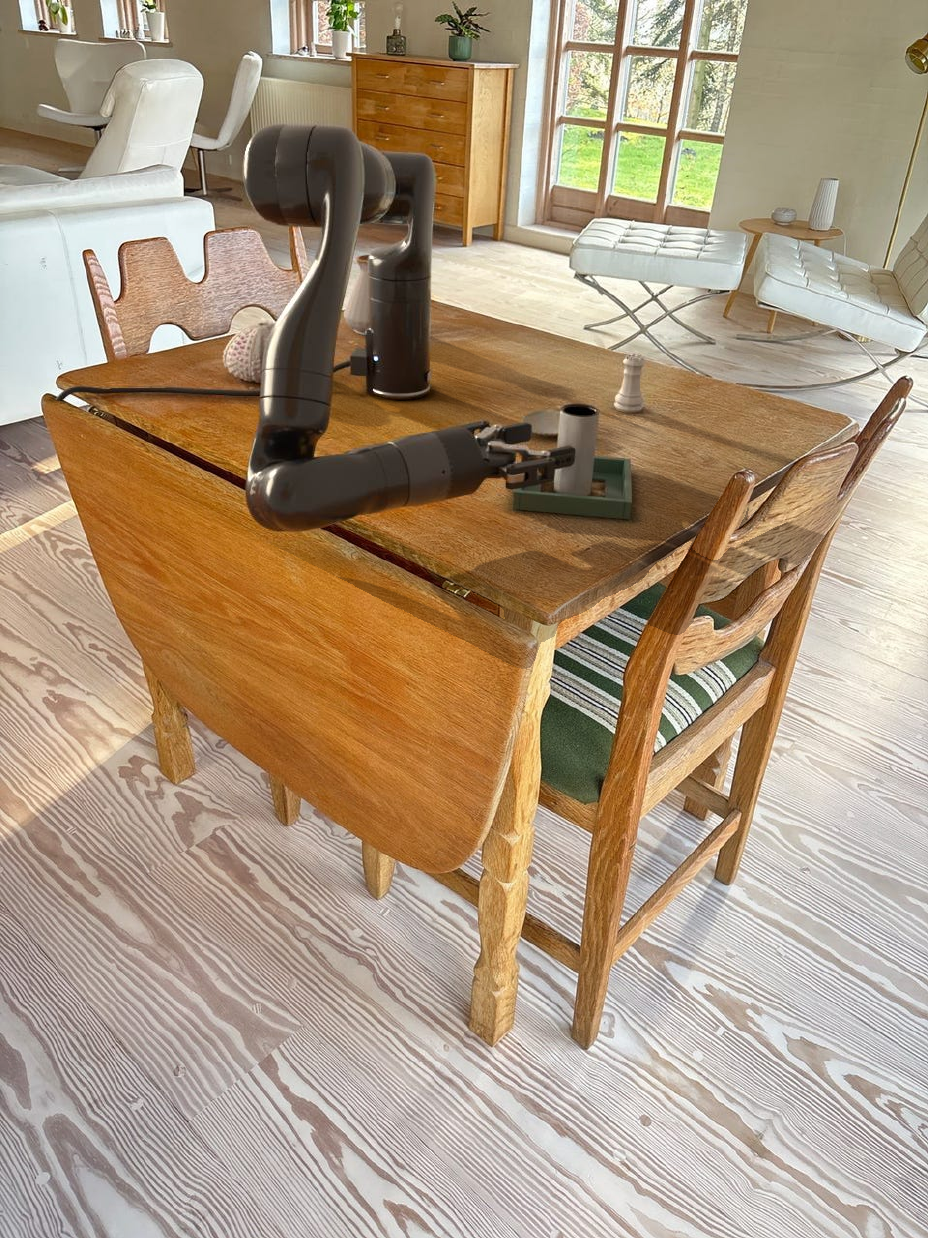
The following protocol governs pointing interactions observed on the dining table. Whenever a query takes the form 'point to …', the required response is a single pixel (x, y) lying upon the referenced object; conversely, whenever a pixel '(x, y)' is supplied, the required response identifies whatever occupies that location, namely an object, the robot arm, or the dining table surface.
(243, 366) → the sea urchin shell
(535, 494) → the green square frame
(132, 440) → the dining table surface
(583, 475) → the white hollow cylinder
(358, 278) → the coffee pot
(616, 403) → the rook chess piece
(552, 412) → the seashell
